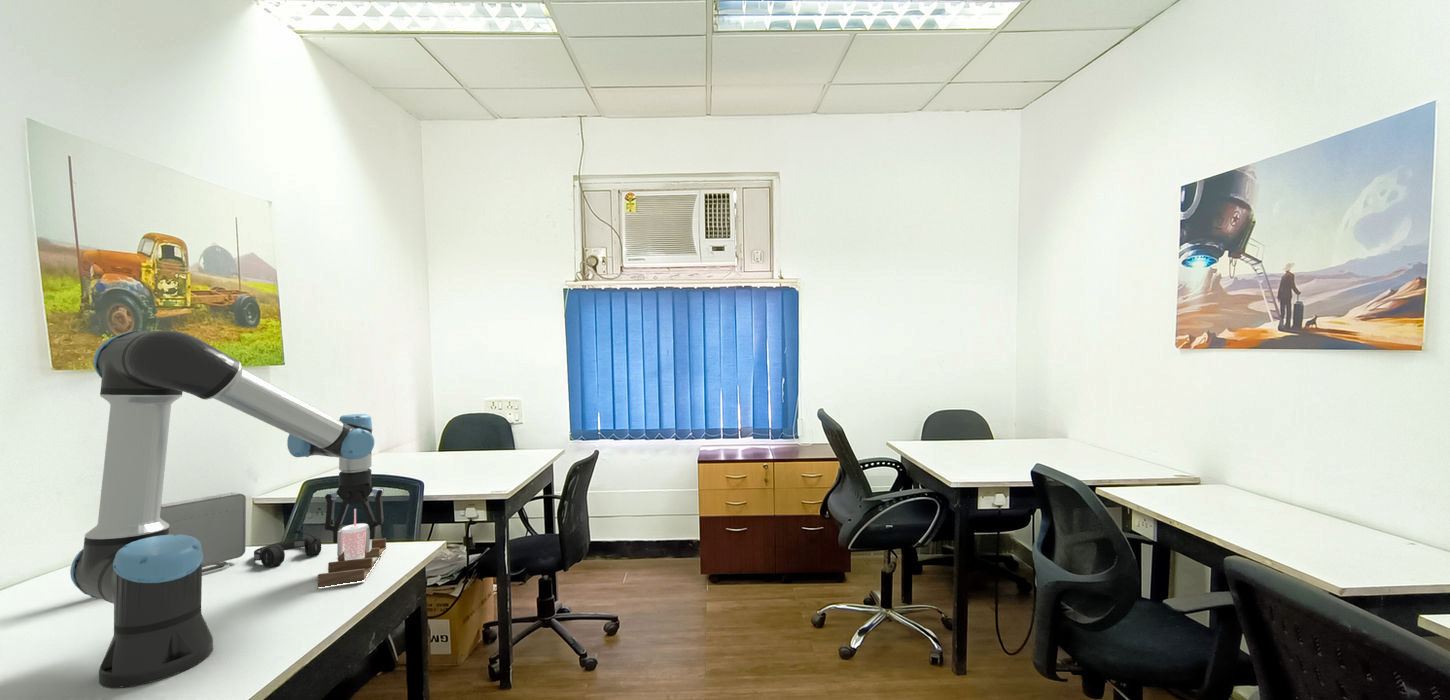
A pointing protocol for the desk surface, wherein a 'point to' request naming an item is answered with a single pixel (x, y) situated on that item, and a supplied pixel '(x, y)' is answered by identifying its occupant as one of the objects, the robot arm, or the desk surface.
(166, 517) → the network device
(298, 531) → the headset
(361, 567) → the slot rack
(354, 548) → the beverage cup
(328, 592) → the desk surface
